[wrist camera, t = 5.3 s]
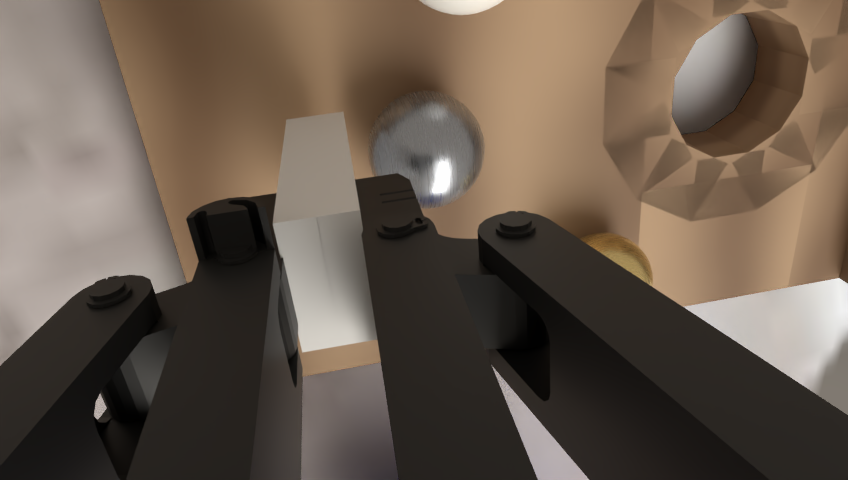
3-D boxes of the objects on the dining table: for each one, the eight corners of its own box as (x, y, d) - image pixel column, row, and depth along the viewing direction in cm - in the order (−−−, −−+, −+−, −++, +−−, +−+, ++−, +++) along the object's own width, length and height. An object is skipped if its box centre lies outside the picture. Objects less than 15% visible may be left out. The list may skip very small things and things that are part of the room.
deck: (228, 348, 24) (215, 422, 20) (83, -145, 17) (24, -166, 13) (811, 245, 26) (890, 294, 23) (908, -222, 19) (1045, -256, 16)
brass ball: (543, 301, 22) (576, 352, 20) (543, 225, 21) (577, 268, 18) (624, 287, 23) (667, 335, 20) (628, 211, 21) (675, 251, 19)
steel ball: (385, 237, 16) (502, 215, 17) (367, 117, 15) (496, 96, 15) (369, 193, 19) (471, 175, 20) (353, 88, 18) (463, 72, 18)
